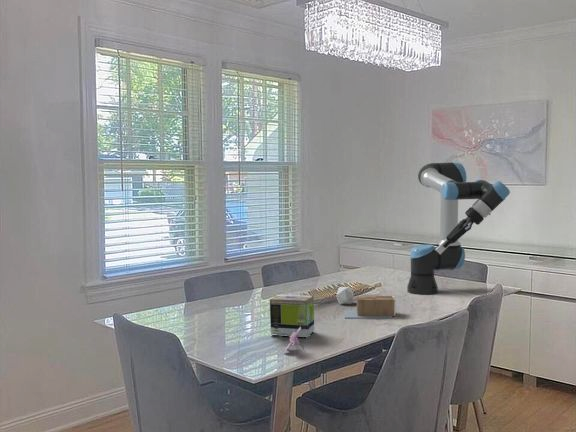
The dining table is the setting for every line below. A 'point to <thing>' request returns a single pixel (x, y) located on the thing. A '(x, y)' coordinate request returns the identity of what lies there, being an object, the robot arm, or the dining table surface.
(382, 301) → the brown wooden block
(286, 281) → the dining table surface
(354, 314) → the mat
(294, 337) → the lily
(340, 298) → the white faceted ball
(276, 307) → the tea box
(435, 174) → the robot arm
